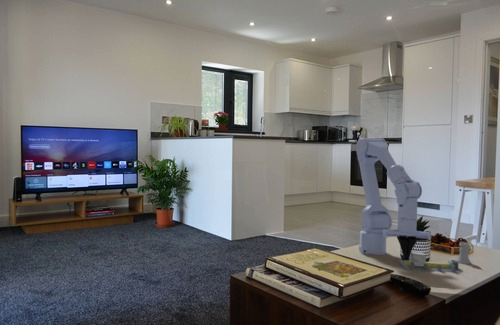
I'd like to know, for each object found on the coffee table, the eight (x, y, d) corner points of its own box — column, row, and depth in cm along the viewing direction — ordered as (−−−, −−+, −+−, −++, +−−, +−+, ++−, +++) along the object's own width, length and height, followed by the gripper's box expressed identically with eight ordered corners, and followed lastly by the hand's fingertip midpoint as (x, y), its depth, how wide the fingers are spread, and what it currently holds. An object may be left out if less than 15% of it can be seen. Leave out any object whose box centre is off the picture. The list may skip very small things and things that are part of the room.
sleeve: (412, 265, 120) (412, 254, 120) (409, 262, 124) (409, 251, 124) (425, 266, 120) (425, 255, 119) (421, 263, 123) (422, 252, 123)
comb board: (404, 272, 118) (404, 261, 118) (397, 263, 128) (398, 253, 128) (462, 276, 115) (462, 265, 115) (450, 267, 125) (451, 257, 125)
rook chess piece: (469, 264, 128) (470, 241, 128) (472, 268, 124) (473, 244, 124) (454, 263, 130) (455, 240, 129) (457, 266, 125) (458, 243, 125)
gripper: (386, 219, 119) (385, 260, 120) (434, 221, 117) (433, 264, 117) (382, 215, 126) (381, 255, 127) (428, 217, 124) (426, 258, 124)
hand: (405, 259), depth 122 cm, fingers closed
